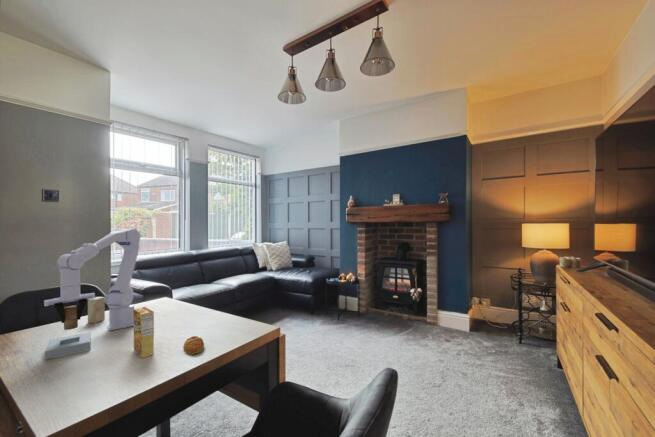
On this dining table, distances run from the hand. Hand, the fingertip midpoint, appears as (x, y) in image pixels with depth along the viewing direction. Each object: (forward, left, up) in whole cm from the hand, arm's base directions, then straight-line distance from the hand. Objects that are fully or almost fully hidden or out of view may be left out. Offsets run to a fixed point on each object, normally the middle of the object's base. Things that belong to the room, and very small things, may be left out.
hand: (70, 320), depth 112 cm
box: (-8, -28, -10) cm, 31 cm away
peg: (0, 0, -3) cm, 3 cm away
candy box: (-21, +26, -10) cm, 35 cm away
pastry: (-36, +35, -10) cm, 51 cm away
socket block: (0, +4, -10) cm, 10 cm away
